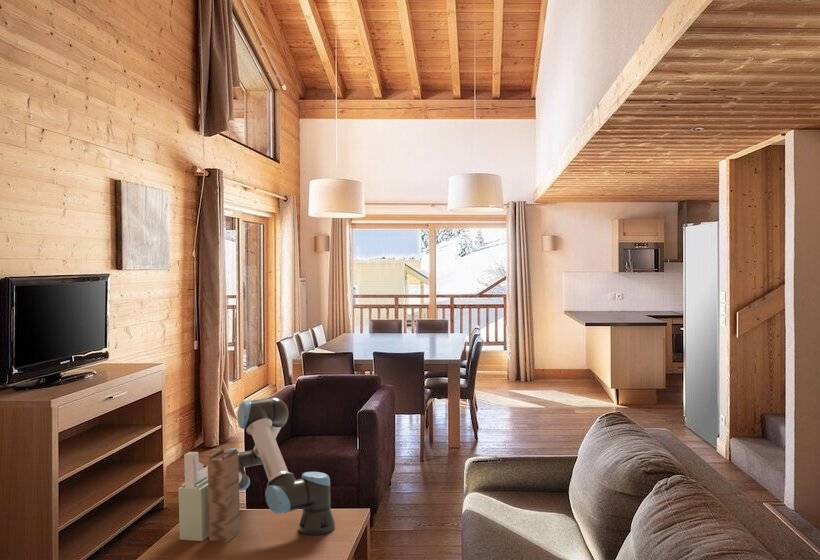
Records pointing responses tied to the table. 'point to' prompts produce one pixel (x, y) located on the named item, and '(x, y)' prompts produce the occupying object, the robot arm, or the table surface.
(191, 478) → the stepped metal block
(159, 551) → the table surface
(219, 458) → the walnut stand
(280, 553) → the table surface
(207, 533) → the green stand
